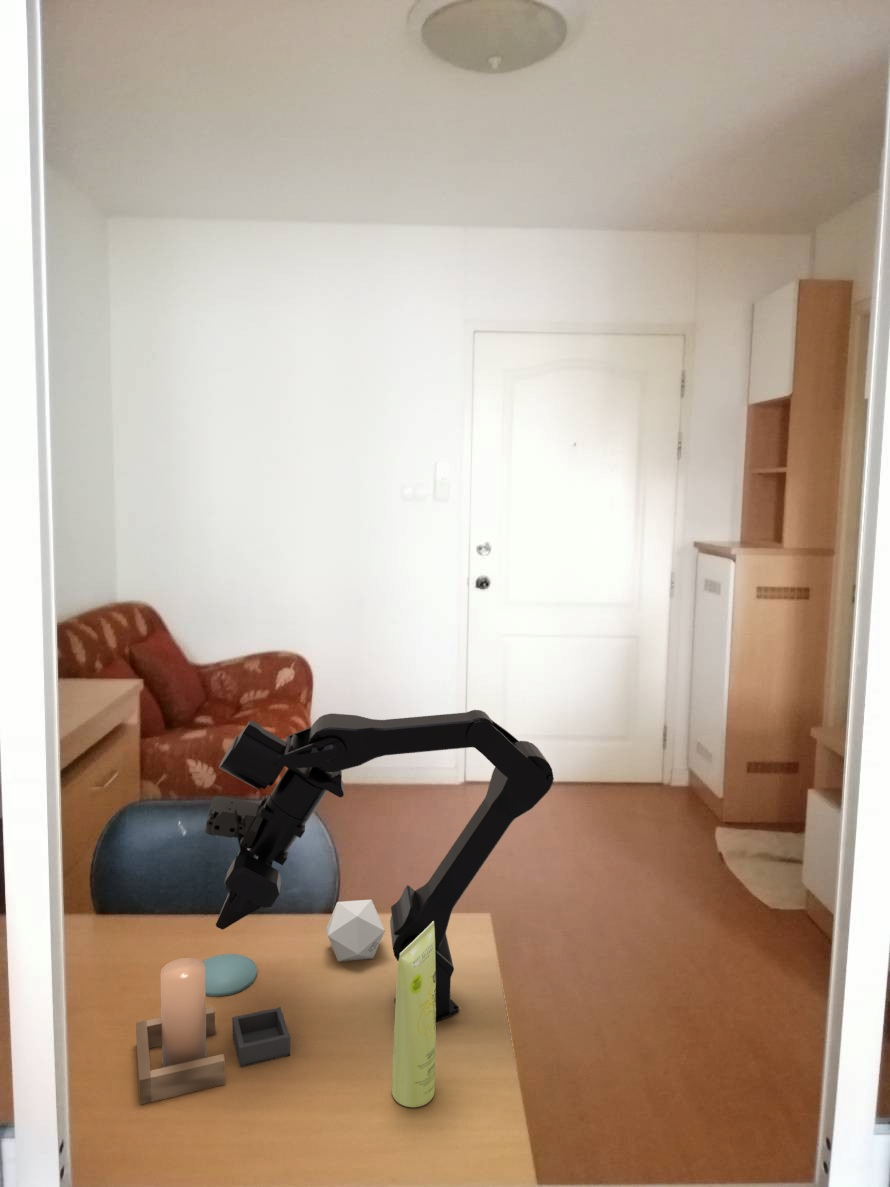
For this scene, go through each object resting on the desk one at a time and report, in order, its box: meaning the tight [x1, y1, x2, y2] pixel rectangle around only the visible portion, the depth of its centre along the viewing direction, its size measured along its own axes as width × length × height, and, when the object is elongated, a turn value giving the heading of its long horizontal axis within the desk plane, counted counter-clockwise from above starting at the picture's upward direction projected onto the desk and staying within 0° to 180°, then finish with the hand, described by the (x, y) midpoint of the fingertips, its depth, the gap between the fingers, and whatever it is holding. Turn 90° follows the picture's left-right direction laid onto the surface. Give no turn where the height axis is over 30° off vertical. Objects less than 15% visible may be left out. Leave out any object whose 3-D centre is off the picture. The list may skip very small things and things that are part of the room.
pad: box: [201, 953, 258, 997], centre depth 116 cm, size 9×9×1 cm
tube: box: [391, 921, 437, 1108], centre depth 94 cm, size 6×5×20 cm
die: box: [325, 899, 386, 962], centre depth 122 cm, size 8×9×10 cm
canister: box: [160, 957, 207, 1068], centre depth 99 cm, size 5×5×12 cm
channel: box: [135, 1006, 226, 1106], centre depth 99 cm, size 9×10×3 cm
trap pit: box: [231, 1006, 291, 1068], centre depth 103 cm, size 6×6×2 cm
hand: (224, 907), depth 105 cm, fingers open, 9 cm apart
